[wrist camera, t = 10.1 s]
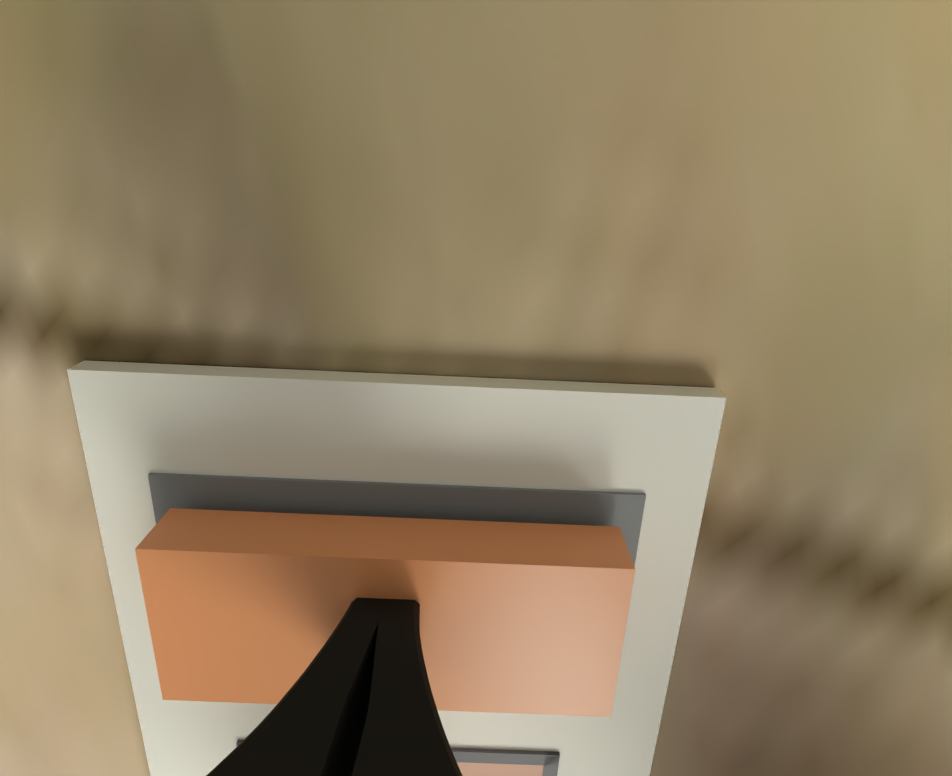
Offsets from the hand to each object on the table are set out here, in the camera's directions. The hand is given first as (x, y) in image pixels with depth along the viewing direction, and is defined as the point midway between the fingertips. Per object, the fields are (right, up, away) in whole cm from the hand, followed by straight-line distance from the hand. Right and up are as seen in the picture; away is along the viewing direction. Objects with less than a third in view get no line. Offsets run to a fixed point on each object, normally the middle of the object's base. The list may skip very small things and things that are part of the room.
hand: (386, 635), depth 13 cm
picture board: (0, -4, +4) cm, 6 cm away
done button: (0, 0, +1) cm, 1 cm away
